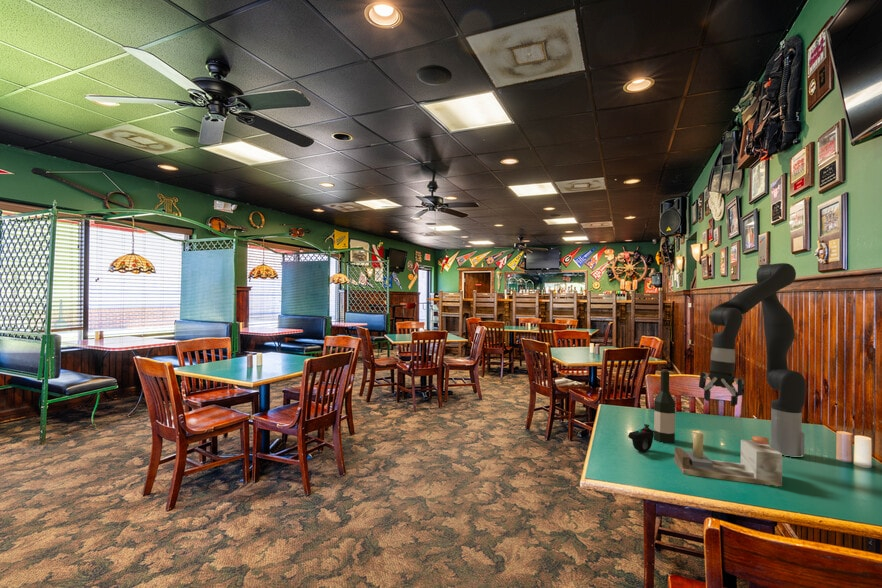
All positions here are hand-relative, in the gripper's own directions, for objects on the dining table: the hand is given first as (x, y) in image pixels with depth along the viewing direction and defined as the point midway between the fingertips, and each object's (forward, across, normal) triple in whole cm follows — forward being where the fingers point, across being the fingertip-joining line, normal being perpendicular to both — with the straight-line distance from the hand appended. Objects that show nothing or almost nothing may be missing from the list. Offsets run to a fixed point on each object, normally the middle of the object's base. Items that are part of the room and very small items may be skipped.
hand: (719, 403), depth 151 cm
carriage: (+19, -1, +17) cm, 25 cm away
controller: (+23, +19, +18) cm, 34 cm away
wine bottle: (+22, +22, -4) cm, 31 cm away
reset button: (+9, -15, +5) cm, 18 cm away
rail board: (+22, -7, +11) cm, 25 cm away
